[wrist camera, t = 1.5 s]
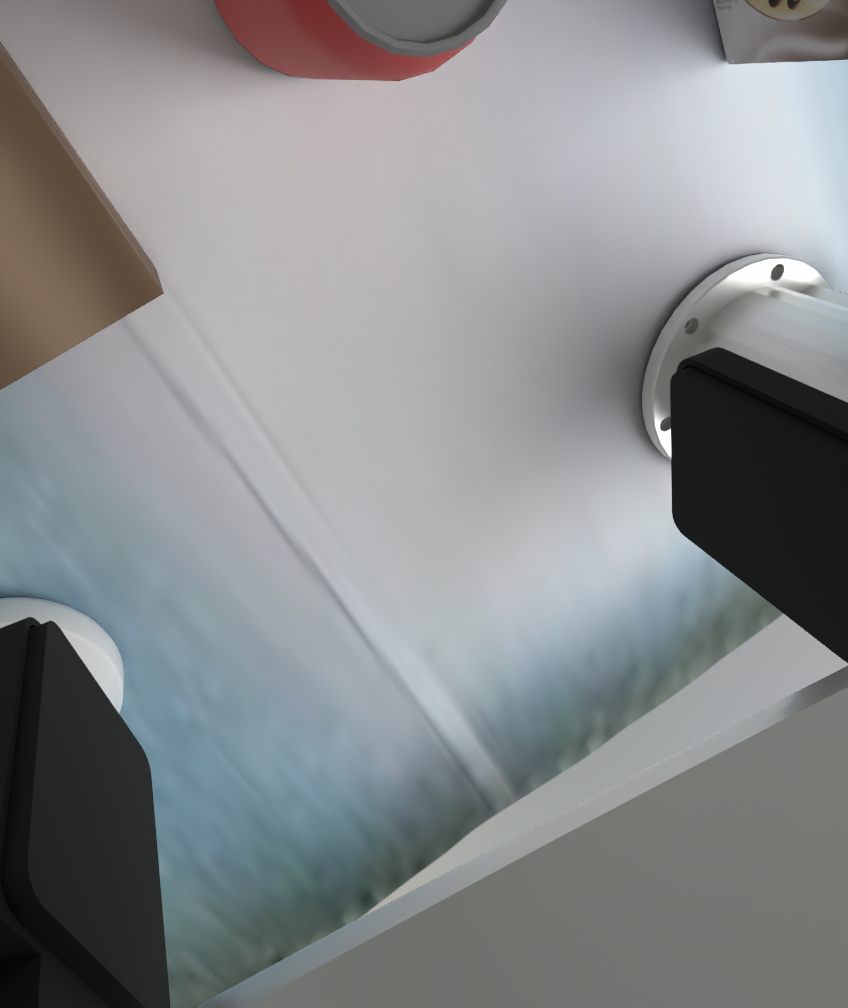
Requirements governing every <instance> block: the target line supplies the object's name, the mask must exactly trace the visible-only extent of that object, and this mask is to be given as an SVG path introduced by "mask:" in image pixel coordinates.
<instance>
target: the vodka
mask: <svg viewBox="0 0 848 1008" xmlns="http://www.w3.org/2000/svg"><path fill="white" fill-rule="evenodd" d="M27 617H33V618H35V619H36V620H37V621H39V623H40V624H43V623H45V622H48V621H54V622H55V623H56V624H57V625H58V626H59V627H60V629H61V630H62V632H63V633H64V635H65V636H66V637H67V639H68V640H69V642H70V643H71V645H72V646H73V648H74V649H75V651H76V652H77V653H78V655H79V656H80V658H81V659H82V661H83V662H84V664H85V665H86V667H87V668H88V669H89V671H90V672H91V674H92V675H93V677H94V678H95V680H96V681H97V683H98V684H99V685H100V687H101V688H102V690H103V691H104V693H105V694H106V696H107V697H108V699H109V700H110V701H111V703H112V704H113V706H114V707H115V709H116V710H117V712H118V713H120V710H121V707H122V701H123V683H124V671H123V663H122V658H121V656H120V653H119V650H118V648H117V647H116V645H115V643H114V642H113V640H112V639H111V637H110V636H109V635H108V634H107V633H106V632H105V631H104V630H103V629H102V628H101V627H100V626H99V625H98V624H97V623H96V622H95V621H94V620H92V619H91V618H90V617H88V616H86V615H85V614H83V613H82V612H80V611H78V610H76V609H74V608H71V607H69V606H66V605H63V604H60V603H57V602H53V601H49V600H44V599H37V598H27V597H12V598H0V628H2V627H5V626H7V625H10V624H12V623H15V622H17V621H20V620H22V619H25V618H27Z"/></svg>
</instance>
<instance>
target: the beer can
mask: <svg viewBox="0 0 848 1008" xmlns="http://www.w3.org/2000/svg"><path fill="white" fill-rule="evenodd" d="M506 1H507V0H215V3H216V7H217V10H218V11H219V13H220V14H221V16H222V18H223V19H224V21H225V22H226V24H227V26H228V27H229V29H230V31H231V32H232V34H233V35H234V37H235V39H236V40H237V41H238V42H239V43H240V44H241V45H242V46H243V47H244V48H245V49H246V50H248V51H249V52H250V53H251V54H252V55H253V56H254V57H255V58H256V59H257V60H258V61H259V62H261V63H262V64H264V65H266V66H268V67H271V68H273V69H275V70H277V71H279V72H281V73H283V74H285V75H287V76H293V77H303V78H313V79H342V80H382V81H401V80H404V79H408V78H411V77H414V76H418V75H421V74H425V73H428V72H432V71H434V70H436V69H437V68H438V67H440V66H441V65H442V64H444V63H445V62H446V61H448V60H449V59H450V58H452V57H453V56H454V55H456V54H457V53H458V52H460V51H461V50H462V49H464V48H465V47H466V46H468V45H469V44H470V43H472V41H473V40H474V39H475V37H476V36H477V35H478V34H480V33H481V32H482V31H484V30H485V29H486V28H488V27H489V26H490V24H491V23H492V21H493V20H494V18H495V17H496V16H497V14H498V13H499V11H500V10H501V9H502V7H503V6H504V4H505V3H506Z"/></svg>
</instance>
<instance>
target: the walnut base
mask: <svg viewBox="0 0 848 1008" xmlns="http://www.w3.org/2000/svg"><path fill="white" fill-rule="evenodd" d="M163 293H164V292H163V289H162V286H161V283H160V280H159V277H158V274H157V270H156V268H155V267H154V265H153V264H152V262H151V261H150V259H149V258H148V256H147V255H146V253H145V252H144V250H143V249H142V248H141V246H140V245H139V243H138V242H137V240H136V239H135V237H134V236H133V234H132V233H131V232H130V230H129V229H128V227H127V226H126V224H125V223H124V221H123V220H122V218H121V217H120V215H119V214H118V213H117V211H116V210H115V208H114V207H113V205H112V204H111V202H110V201H109V199H108V198H107V197H106V195H105V194H104V192H103V191H102V189H101V188H100V186H99V185H98V183H97V182H96V181H95V179H94V178H93V176H92V175H91V173H90V172H89V170H88V169H87V167H86V166H85V164H84V163H83V162H82V160H81V159H80V157H79V156H78V154H77V153H76V151H75V150H74V148H73V147H72V146H71V144H70V143H69V141H68V140H67V138H66V137H65V135H64V134H63V132H62V131H61V130H60V128H59V127H58V125H57V124H56V122H55V121H54V119H53V118H52V116H51V115H50V113H49V112H48V111H47V109H46V108H45V106H44V105H43V103H42V102H41V100H40V99H39V97H38V96H37V95H36V93H35V92H34V90H33V89H32V87H31V86H30V84H29V83H28V81H27V80H26V78H25V77H24V76H23V74H22V73H21V71H20V70H19V68H18V67H17V65H16V64H15V62H14V61H13V60H12V58H11V57H10V55H9V54H8V52H7V51H6V49H5V48H4V46H3V45H2V44H1V42H0V390H1V389H3V388H4V387H6V386H8V385H9V384H11V383H13V382H15V381H16V380H18V379H20V378H21V377H23V376H25V375H26V374H28V373H30V372H31V371H33V370H35V369H37V368H38V367H40V366H42V365H43V364H45V363H47V362H48V361H50V360H52V359H53V358H55V357H57V356H59V355H60V354H62V353H64V352H65V351H67V350H69V349H70V348H72V347H74V346H75V345H77V344H79V343H81V342H82V341H84V340H86V339H87V338H89V337H91V336H92V335H94V334H96V333H97V332H99V331H101V330H102V329H104V328H106V327H108V326H109V325H111V324H113V323H114V322H116V321H118V320H119V319H121V318H123V317H124V316H126V315H128V314H130V313H131V312H133V311H135V310H136V309H138V308H140V307H141V306H143V305H145V304H146V303H148V302H150V301H152V300H153V299H155V298H157V297H158V296H160V295H162V294H163Z"/></svg>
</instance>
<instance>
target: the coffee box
mask: <svg viewBox="0 0 848 1008" xmlns="http://www.w3.org/2000/svg"><path fill="white" fill-rule="evenodd" d="M713 3H714V7H715V11H716V16H717V20H718V24H719V29H720V33H721V37H722V42H723V46H724V50H725V54H726V58H727V62H728V63H729V64H746V63H769V62H772V63H774V62H803V61H827V60H846V59H848V0H713Z"/></svg>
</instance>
